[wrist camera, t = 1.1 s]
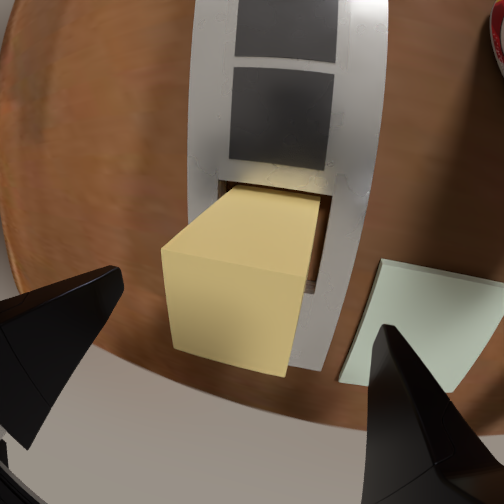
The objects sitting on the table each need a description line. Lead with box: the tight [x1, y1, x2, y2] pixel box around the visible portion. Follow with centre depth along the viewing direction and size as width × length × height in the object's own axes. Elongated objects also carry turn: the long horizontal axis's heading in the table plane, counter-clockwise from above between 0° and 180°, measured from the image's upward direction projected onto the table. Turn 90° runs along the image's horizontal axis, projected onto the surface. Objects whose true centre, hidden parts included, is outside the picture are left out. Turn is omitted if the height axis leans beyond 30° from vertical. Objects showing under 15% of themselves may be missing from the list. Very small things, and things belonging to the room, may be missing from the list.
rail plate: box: [187, 0, 388, 371], centre depth 13 cm, size 8×20×1 cm, turn 176°
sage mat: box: [339, 258, 504, 392], centre depth 15 cm, size 9×9×1 cm
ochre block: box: [161, 185, 321, 377], centre depth 12 cm, size 4×4×7 cm
